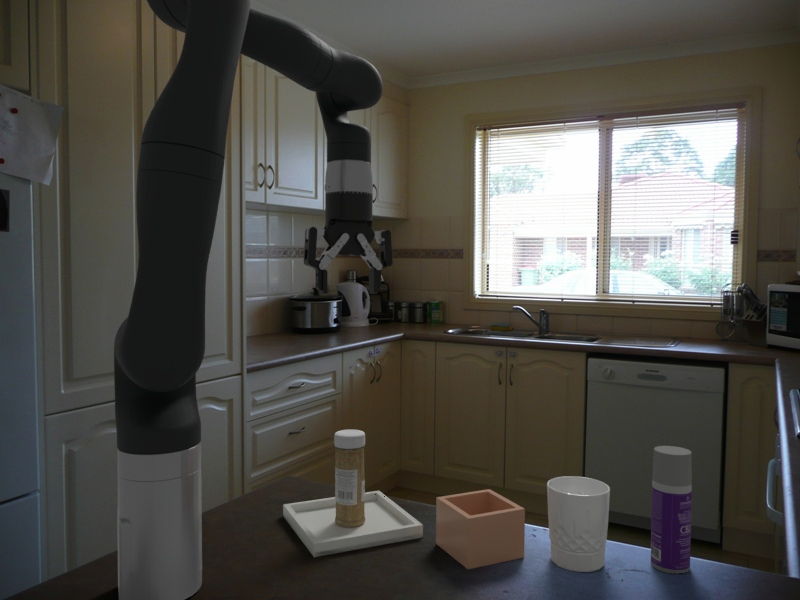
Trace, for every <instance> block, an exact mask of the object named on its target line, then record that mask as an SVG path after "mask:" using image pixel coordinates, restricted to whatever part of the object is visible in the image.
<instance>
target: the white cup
mask: <svg viewBox="0 0 800 600" xmlns="http://www.w3.org/2000/svg"><path fill="white" fill-rule="evenodd" d="M546 489H547V494H546V495H547V518H548V532H549V534H548V538H549V540H550V558H551V561H552V562H553V564H554V565H556V566H557V567H559V568H562V569H565V570H567V571H572V572H578V573H591V572H592V573H593V572H596V571H598V570H599V571H600V570H601V569H602V568H603V567H604V566H605V559H606V543H607V539H608V530H609V529H608V527H609V513H610V512H609V511H610V495H611V487H610V486H609V485H608V484H607V483H605V482H603V481H601V480H598V479H595V478H589V477H586V476H585V477H584V476H577V475H576V476H575V475H572V476H569V475H568V476H565V475H563V476H557V477H554V478H551V479H549V480H547V483H546Z"/></svg>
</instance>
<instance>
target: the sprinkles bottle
mask: <svg viewBox="0 0 800 600" xmlns="http://www.w3.org/2000/svg"><path fill="white" fill-rule="evenodd" d="M333 436H334V437H333V438H334V439H333V442H334V443H333V445H334V448H335V453H334V454H335V457H334V458H335V459H334V460H335V462H334V463H335V465H334V473H335V474H334V488H335V489H334V492H335V493H334V497H335V501H336V517H335V522H336V523H337V524H338V525H340V526H343V527H355V526H359V525H361V524H363V523H364V522H365V511H364V500H365V493H366V488H365V487H366V480H365V446H366V433H365V432H364V431H363V430H359V429H354V428H353V429H342V430H338V431H336V432H334V435H333Z"/></svg>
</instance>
